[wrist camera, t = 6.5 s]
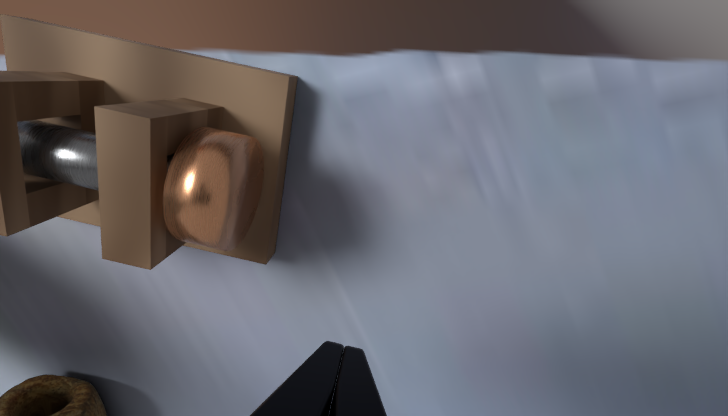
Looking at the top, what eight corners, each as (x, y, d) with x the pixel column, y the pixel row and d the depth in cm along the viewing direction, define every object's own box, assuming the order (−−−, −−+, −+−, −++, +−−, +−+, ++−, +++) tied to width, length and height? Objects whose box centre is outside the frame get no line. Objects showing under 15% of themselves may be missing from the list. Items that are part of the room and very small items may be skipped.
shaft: (27, 172, 20) (-91, 203, 15) (16, 73, 18) (-123, 72, 13) (258, 225, 19) (211, 272, 15) (268, 129, 17) (219, 148, 13)
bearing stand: (48, 200, 22) (-100, 252, 16) (29, 18, 19) (-170, -13, 12) (274, 252, 22) (220, 327, 15) (297, 76, 18) (239, 76, 12)
